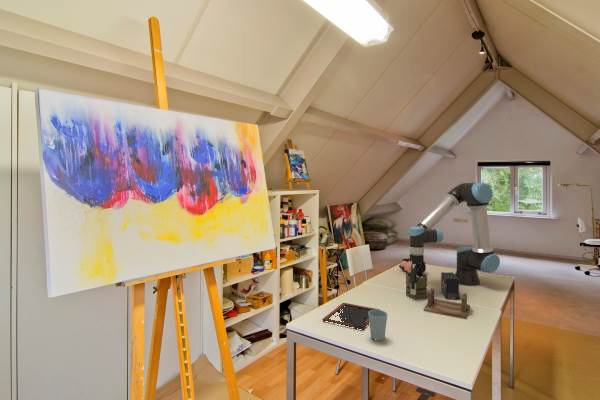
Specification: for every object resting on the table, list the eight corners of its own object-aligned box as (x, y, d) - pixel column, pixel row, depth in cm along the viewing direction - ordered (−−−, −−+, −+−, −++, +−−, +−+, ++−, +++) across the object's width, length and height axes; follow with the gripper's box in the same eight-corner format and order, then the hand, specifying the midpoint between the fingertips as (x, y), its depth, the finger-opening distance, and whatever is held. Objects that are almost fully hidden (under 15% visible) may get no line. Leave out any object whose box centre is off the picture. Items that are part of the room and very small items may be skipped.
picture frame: (363, 332, 142) (380, 312, 163) (363, 327, 142) (380, 308, 163) (322, 322, 152) (343, 305, 173) (322, 318, 152) (343, 302, 173)
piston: (424, 279, 177) (403, 276, 184) (423, 300, 178) (403, 297, 184) (429, 274, 187) (409, 271, 193) (429, 295, 187) (409, 291, 194)
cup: (385, 343, 130) (385, 318, 130) (366, 339, 133) (366, 314, 133) (389, 336, 137) (389, 311, 136) (371, 332, 140) (370, 308, 140)
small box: (440, 292, 193) (440, 271, 192) (453, 292, 191) (453, 272, 191) (446, 299, 180) (446, 278, 179) (459, 300, 178) (459, 278, 178)
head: (394, 264, 232) (423, 268, 221) (398, 253, 241) (426, 255, 230) (396, 277, 238) (425, 281, 227) (400, 265, 246) (428, 268, 236)
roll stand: (431, 300, 179) (431, 285, 178) (469, 307, 168) (470, 291, 168) (423, 311, 164) (423, 294, 163) (465, 319, 153) (466, 301, 153)
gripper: (415, 249, 197) (414, 284, 198) (403, 257, 176) (403, 296, 177) (428, 250, 193) (427, 286, 194) (418, 258, 172) (417, 298, 173)
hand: (416, 291), depth 186 cm, fingers open, 13 cm apart
